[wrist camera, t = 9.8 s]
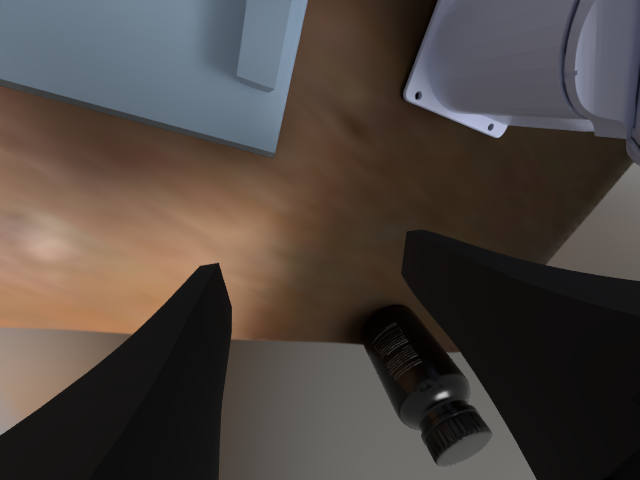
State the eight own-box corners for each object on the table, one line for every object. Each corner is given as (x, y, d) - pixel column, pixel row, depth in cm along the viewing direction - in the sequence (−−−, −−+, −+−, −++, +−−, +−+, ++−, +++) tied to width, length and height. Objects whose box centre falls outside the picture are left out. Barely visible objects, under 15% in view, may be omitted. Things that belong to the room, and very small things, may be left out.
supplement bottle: (360, 354, 30) (418, 485, 20) (358, 313, 27) (426, 445, 16) (413, 338, 31) (493, 455, 21) (417, 297, 28) (516, 411, 17)
